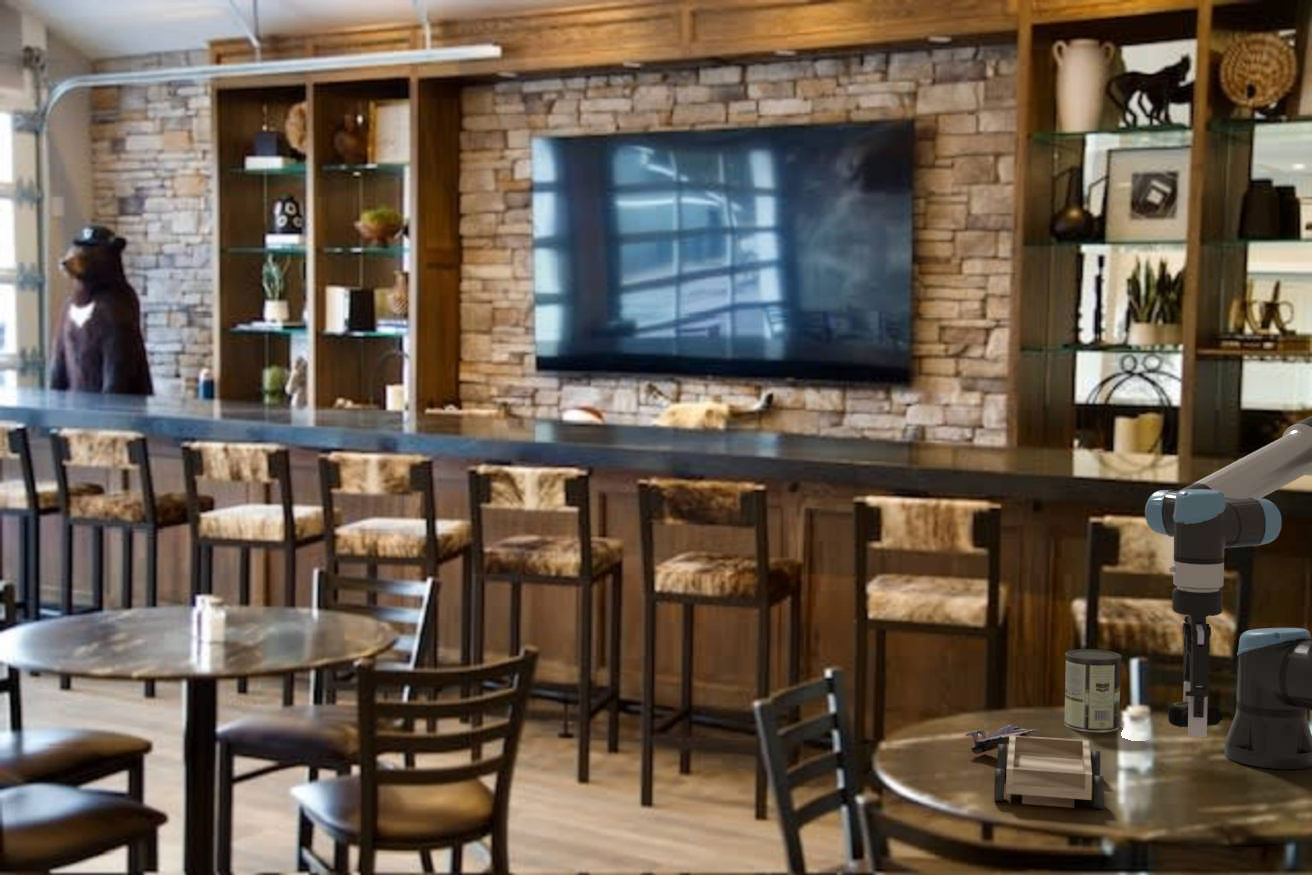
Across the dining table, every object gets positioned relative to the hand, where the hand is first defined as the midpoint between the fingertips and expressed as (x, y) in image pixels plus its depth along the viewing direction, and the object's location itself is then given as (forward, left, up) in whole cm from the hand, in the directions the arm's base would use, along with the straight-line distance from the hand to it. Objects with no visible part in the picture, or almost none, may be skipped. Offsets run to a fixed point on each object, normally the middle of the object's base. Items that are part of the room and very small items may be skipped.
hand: (1194, 729), depth 257 cm
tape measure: (0, +3, 0) cm, 3 cm away
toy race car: (+31, -20, -13) cm, 39 cm away
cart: (+22, -2, -12) cm, 25 cm away
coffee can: (+14, -48, -12) cm, 51 cm away
